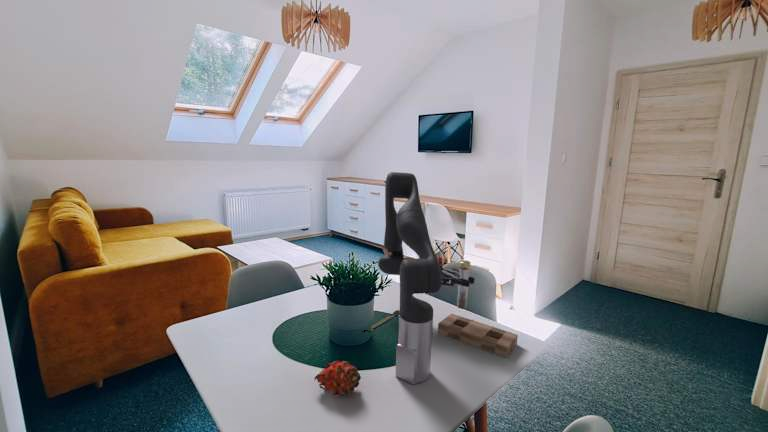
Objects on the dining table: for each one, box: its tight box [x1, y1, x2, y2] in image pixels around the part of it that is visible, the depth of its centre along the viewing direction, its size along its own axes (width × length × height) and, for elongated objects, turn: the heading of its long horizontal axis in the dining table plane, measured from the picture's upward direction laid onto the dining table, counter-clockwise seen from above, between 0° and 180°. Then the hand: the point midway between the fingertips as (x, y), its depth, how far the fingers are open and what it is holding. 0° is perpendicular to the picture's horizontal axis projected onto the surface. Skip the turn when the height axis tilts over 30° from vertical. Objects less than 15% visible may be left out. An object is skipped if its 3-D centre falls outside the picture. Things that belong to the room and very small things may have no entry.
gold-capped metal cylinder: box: [456, 260, 471, 310], centre depth 119 cm, size 4×4×16 cm
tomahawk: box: [371, 309, 400, 334], centre depth 128 cm, size 21×7×1 cm, turn 141°
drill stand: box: [437, 313, 519, 359], centre depth 119 cm, size 10×24×4 cm, turn 53°
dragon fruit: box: [314, 360, 362, 397], centre depth 90 cm, size 8×8×12 cm
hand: (471, 282), depth 117 cm, fingers closed on gold-capped metal cylinder, 3 cm apart
